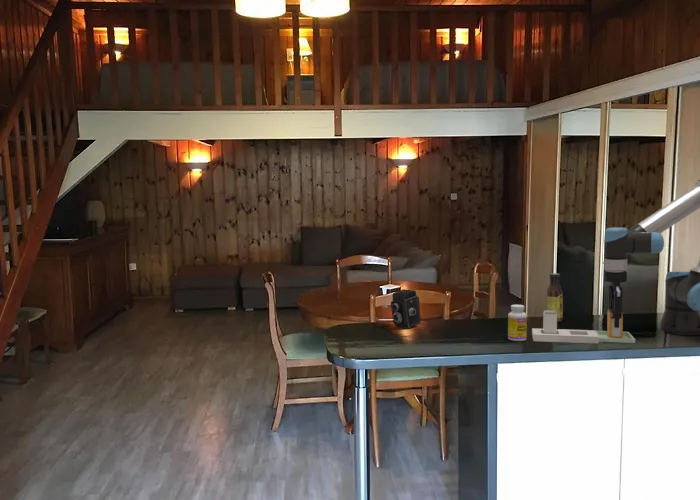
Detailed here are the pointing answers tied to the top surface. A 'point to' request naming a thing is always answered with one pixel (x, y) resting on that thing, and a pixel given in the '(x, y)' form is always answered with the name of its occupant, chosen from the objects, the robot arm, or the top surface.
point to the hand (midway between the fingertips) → (614, 334)
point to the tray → (625, 339)
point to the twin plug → (549, 322)
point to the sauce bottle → (555, 296)
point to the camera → (405, 308)
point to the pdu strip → (566, 336)
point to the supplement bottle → (517, 323)
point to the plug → (609, 325)
